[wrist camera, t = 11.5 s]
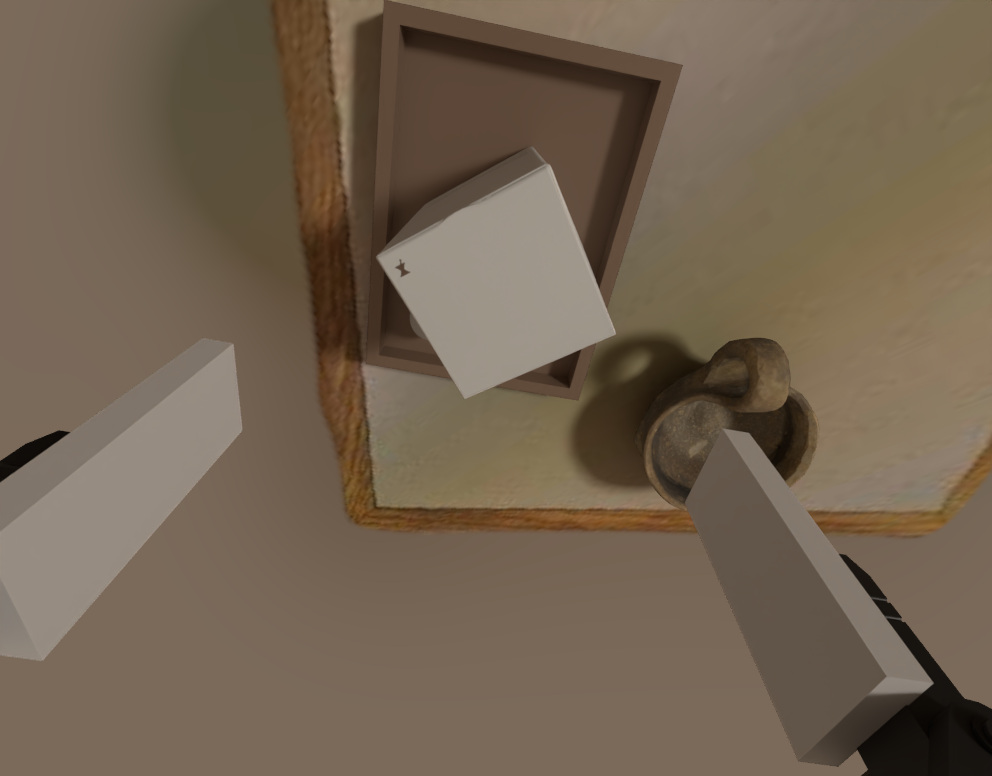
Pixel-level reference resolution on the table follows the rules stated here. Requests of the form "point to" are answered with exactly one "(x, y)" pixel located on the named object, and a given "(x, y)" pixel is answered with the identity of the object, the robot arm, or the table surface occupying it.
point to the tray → (507, 150)
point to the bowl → (727, 417)
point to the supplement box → (498, 275)
